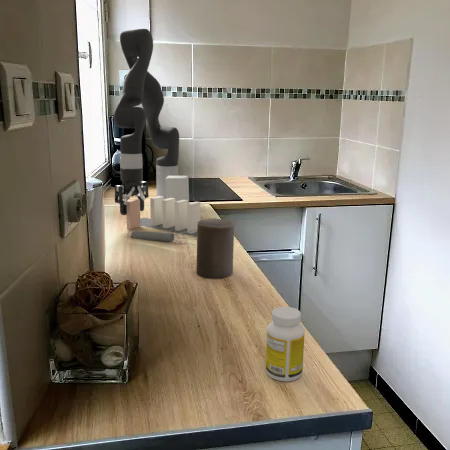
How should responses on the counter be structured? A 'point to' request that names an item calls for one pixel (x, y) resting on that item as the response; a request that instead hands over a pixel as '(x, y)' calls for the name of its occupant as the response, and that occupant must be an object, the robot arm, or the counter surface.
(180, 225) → the domino
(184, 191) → the skincare box
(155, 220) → the domino
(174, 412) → the counter surface
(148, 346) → the counter surface
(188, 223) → the domino
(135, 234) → the kitchen whisk
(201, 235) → the pillar candle
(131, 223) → the domino
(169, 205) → the domino
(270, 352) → the pill bottle
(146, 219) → the mat
